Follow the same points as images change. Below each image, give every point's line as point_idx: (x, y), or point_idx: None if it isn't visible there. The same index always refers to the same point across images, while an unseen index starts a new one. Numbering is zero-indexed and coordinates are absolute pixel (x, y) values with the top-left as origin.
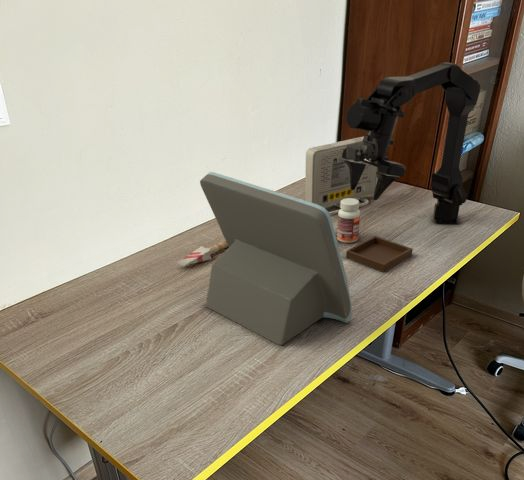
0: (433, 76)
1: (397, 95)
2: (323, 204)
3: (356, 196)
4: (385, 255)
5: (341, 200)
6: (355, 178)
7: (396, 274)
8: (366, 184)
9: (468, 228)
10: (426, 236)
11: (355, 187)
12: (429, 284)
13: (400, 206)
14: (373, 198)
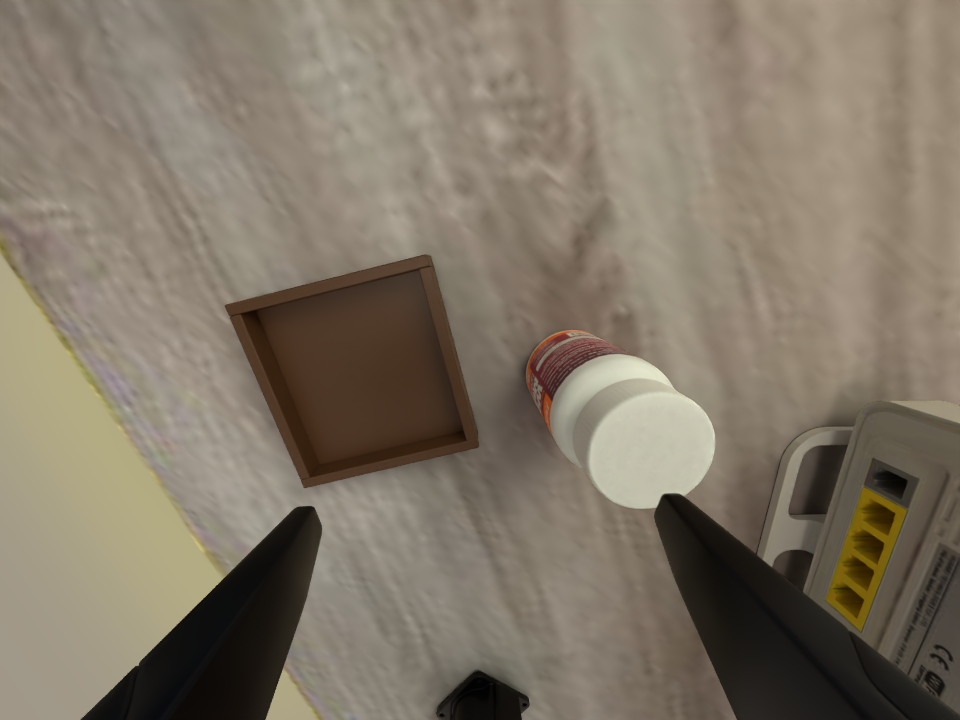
0: None
1: None
2: (860, 459)
3: None
4: (351, 391)
5: (706, 418)
6: (747, 646)
7: (212, 333)
8: None
9: (396, 711)
10: (419, 595)
11: (664, 546)
12: (94, 379)
13: (654, 667)
14: (301, 512)
